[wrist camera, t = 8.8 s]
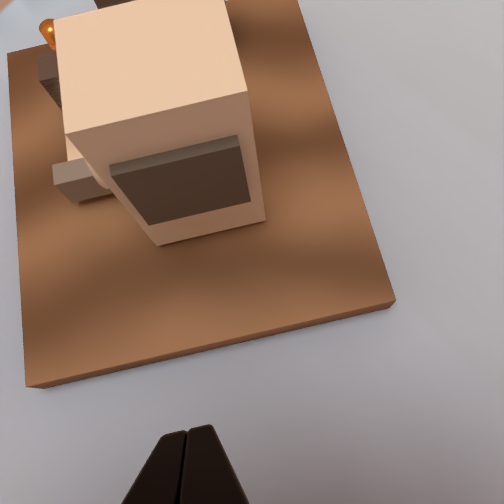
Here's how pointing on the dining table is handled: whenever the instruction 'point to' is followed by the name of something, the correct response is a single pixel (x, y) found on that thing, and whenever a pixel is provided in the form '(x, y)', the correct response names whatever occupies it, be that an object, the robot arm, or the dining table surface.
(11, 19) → the dining table surface
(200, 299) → the gauge base
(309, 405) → the dining table surface
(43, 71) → the reading marker
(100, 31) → the block
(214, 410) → the dining table surface
